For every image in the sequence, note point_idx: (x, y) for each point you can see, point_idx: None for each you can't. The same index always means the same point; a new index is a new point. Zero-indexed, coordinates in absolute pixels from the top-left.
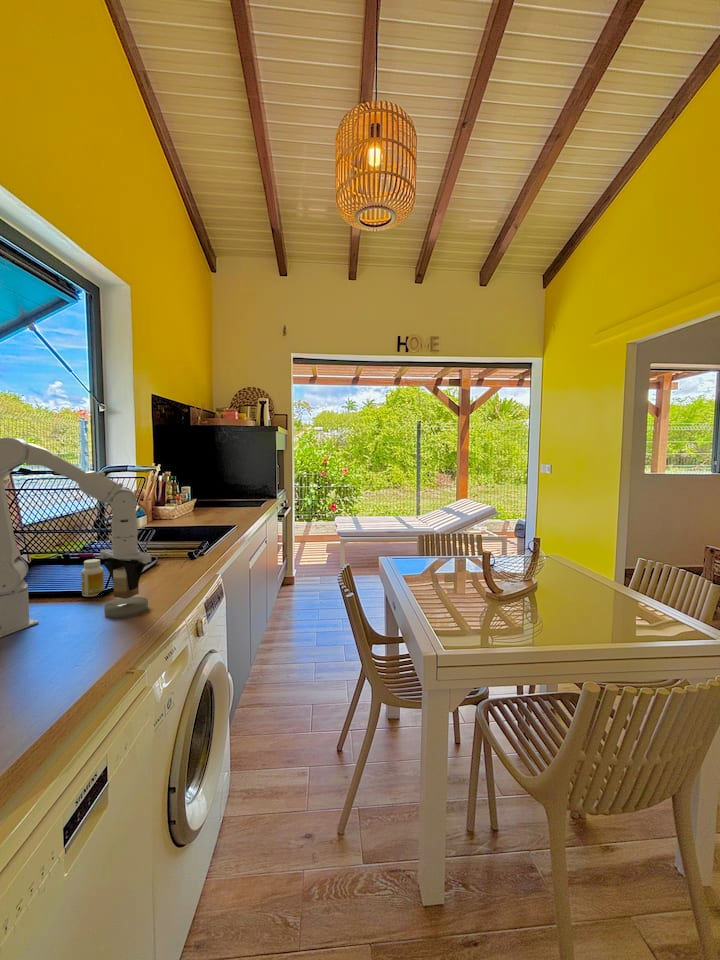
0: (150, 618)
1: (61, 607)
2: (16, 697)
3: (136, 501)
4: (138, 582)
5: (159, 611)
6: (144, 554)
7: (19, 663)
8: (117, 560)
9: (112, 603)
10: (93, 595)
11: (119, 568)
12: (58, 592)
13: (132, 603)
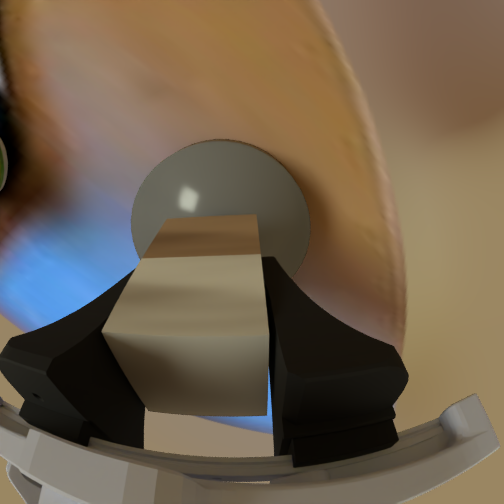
0: (361, 243)
1: (32, 275)
2: None
3: None
4: (283, 269)
5: (352, 178)
6: (433, 476)
7: (259, 426)
8: (103, 435)
9: None
10: (5, 178)
11: (146, 388)
12: None
13: None
